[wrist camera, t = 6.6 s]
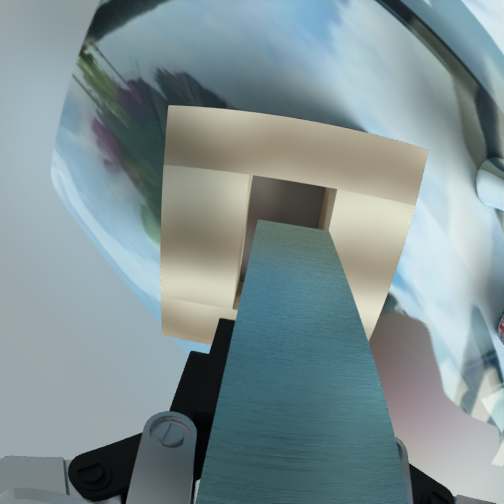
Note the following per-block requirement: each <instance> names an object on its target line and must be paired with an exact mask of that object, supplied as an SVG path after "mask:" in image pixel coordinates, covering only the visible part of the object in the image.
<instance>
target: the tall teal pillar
mask: <svg viewBox="0 0 504 504" xmlns="http://www.w3.org/2000/svg"><path fill="white" fill-rule="evenodd" d="M195 504H409V500H408V495H407V490H406V485H405V480H404V475H403V470H402V466H401V461H400V457H399V452H398V448H397V444H396V440H395V436H394V431H393V428H392V424H391V420H390V416H389V412H388V408H387V405H386V401H385V397H384V394H383V390H382V387H381V383H380V379H379V376H378V372H377V369H376V366H375V362H374V359H373V356H372V352H371V349H370V346H369V343H368V339H367V336H366V333H365V330H364V327H363V324H362V321H361V318H360V315H359V312H358V309H357V306H356V303H355V300H354V297H353V294H352V291H351V289H350V286H349V283H348V280H347V277H346V275H345V272H344V269H343V266H342V264H341V261H340V258H339V256H338V253H337V250H336V248H335V245H334V242H333V240H332V237H331V235H330V232H329V231H326V230H320V229H314V228H308V227H302V226H296V225H290V224H284V223H278V222H271V221H265V220H259V219H258V221H257V226H256V230H255V235H254V239H253V244H252V248H251V253H250V257H249V262H248V266H247V271H246V275H245V280H244V284H243V289H242V293H241V298H240V303H239V307H238V312H237V316H236V321H235V325H234V330H233V334H232V339H231V343H230V348H229V352H228V357H227V361H226V366H225V370H224V375H223V380H222V384H221V389H220V393H219V398H218V402H217V407H216V411H215V416H214V420H213V425H212V430H211V434H210V439H209V443H208V448H207V452H206V457H205V461H204V466H203V471H202V475H201V480H200V484H199V489H198V493H197V498H196V503H195Z"/></svg>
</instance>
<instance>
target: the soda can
mask: <svg viewBox="0 0 504 504" xmlns="http://www.w3.org/2000/svg"><path fill="white" fill-rule="evenodd" d="M498 337H499V339H500V340H501V342H502V343H503V345H504V314H503V316H502V318H501V320H500V322H499V326H498Z"/></svg>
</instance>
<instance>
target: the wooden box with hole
mask: <svg viewBox="0 0 504 504" xmlns="http://www.w3.org/2000/svg"><path fill="white" fill-rule="evenodd" d="M427 154H428V149H424V148H421V147H418V146H414V145H411V144H408V143H404V142H401V141H397V140H393V139H390V138H386V137H382V136H378V135H374V134H370V133H366V132H362V131H358V130H353V129H349V128H344V127H340V126H335V125H330V124H325V123H320V122H314V121H309V120H303V119H297V118H291V117H285V116H278V115H272V114H264V113H257V112H249V111H240V110H231V109H220V108H208V107H194V106H174V105H169V106H168V116H167V127H166V139H165V152H164V167H163V184H162V208H161V315H162V335H165V336H170V337H174V338H179V339H184V340H189V341H194V342H199V343H205V344H210V345H212V342H213V339H214V335H215V332H216V328H217V325H218V322H219V318H225V319H231V320H236V316H237V312H238V307H239V303H240V298H241V293H242V289H243V284H244V280H245V275H246V271H247V266H248V262H249V257H250V253H251V248H252V244H253V239H254V235H255V230H256V226H257V221H258V219H259V220H265V221H271V222H278V223H284V224H290V225H296V226H302V227H308V228H314V229H320V230H326V231H329V232H330V235H331V237H332V240H333V242H334V245H335V248H336V250H337V253H338V256H339V258H340V261H341V264H342V266H343V269H344V272H345V275H346V277H347V280H348V283H349V286H350V289H351V291H352V294H353V297H354V300H355V303H356V306H357V309H358V312H359V315H360V318H361V321H362V324H363V327H364V330H365V333H366V336H367V339H368V342H369V339H370V337H371V335H372V332H373V330H374V327H375V325H376V322H377V320H378V317H379V315H380V312H381V310H382V307H383V304H384V302H385V299H386V296H387V294H388V291H389V288H390V285H391V283H392V280H393V277H394V274H395V271H396V268H397V265H398V262H399V259H400V256H401V253H402V250H403V247H404V243H405V240H406V237H407V233H408V230H409V227H410V223H411V220H412V216H413V212H414V209H415V205H416V201H417V197H418V193H419V189H420V185H421V181H422V177H423V172H424V168H425V163H426V159H427Z"/></svg>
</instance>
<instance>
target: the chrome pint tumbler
mask: <svg viewBox="0 0 504 504" xmlns="http://www.w3.org/2000/svg"><path fill="white" fill-rule="evenodd" d="M476 190H477V194H478V196H479V198H480V200H481V201H482V202H483V203H484V204H485V205H486V206H488V207H491V208H495V209H499V210H501V211H503V212H504V159H502V158H500V157H490V158H488V159H486V160H485V161H484V162H483V163H482V164H481V166H480V168H479V170H478V173H477V176H476Z"/></svg>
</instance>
